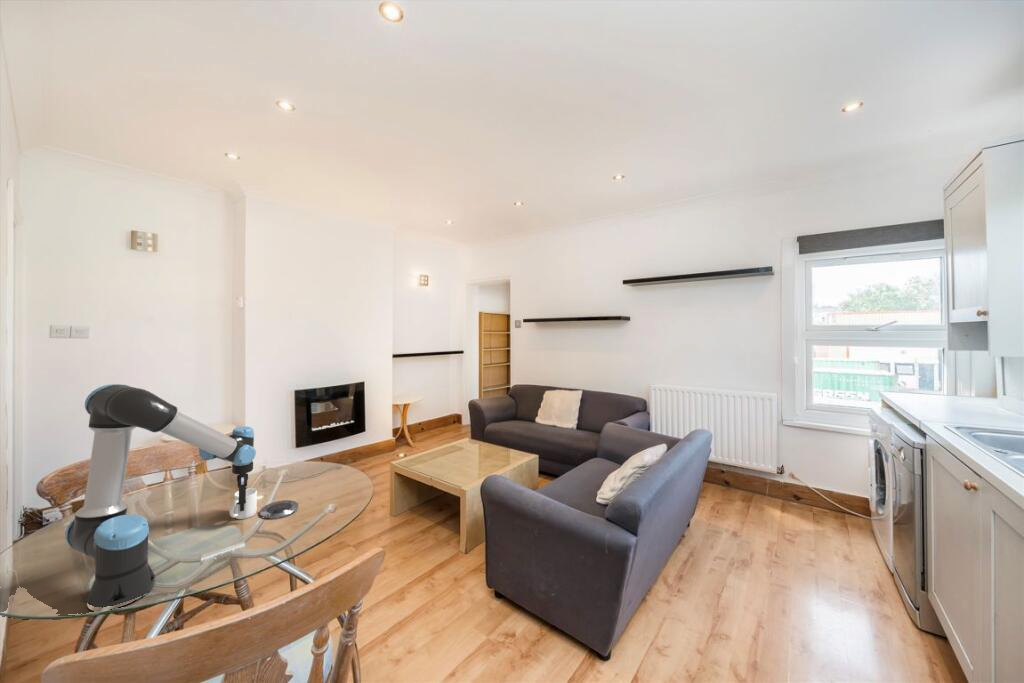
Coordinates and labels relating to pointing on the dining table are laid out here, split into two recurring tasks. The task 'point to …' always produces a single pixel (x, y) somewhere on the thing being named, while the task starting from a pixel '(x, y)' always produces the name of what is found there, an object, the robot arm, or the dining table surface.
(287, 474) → the dining table surface
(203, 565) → the dining table surface
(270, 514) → the metal plate
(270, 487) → the dining table surface
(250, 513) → the mug
